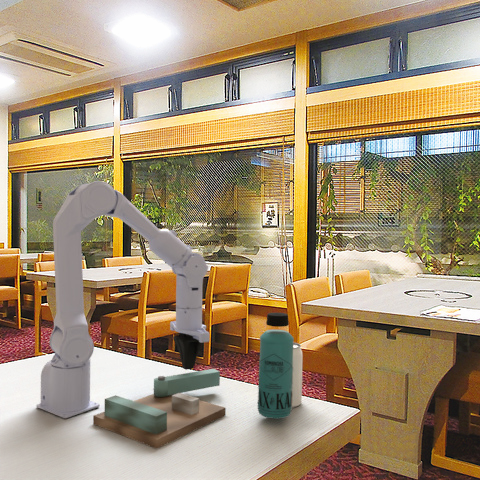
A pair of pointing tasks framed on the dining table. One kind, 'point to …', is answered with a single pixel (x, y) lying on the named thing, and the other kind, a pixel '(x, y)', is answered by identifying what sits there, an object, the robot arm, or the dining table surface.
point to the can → (297, 375)
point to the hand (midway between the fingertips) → (188, 368)
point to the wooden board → (157, 417)
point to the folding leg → (186, 382)
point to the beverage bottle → (275, 369)
